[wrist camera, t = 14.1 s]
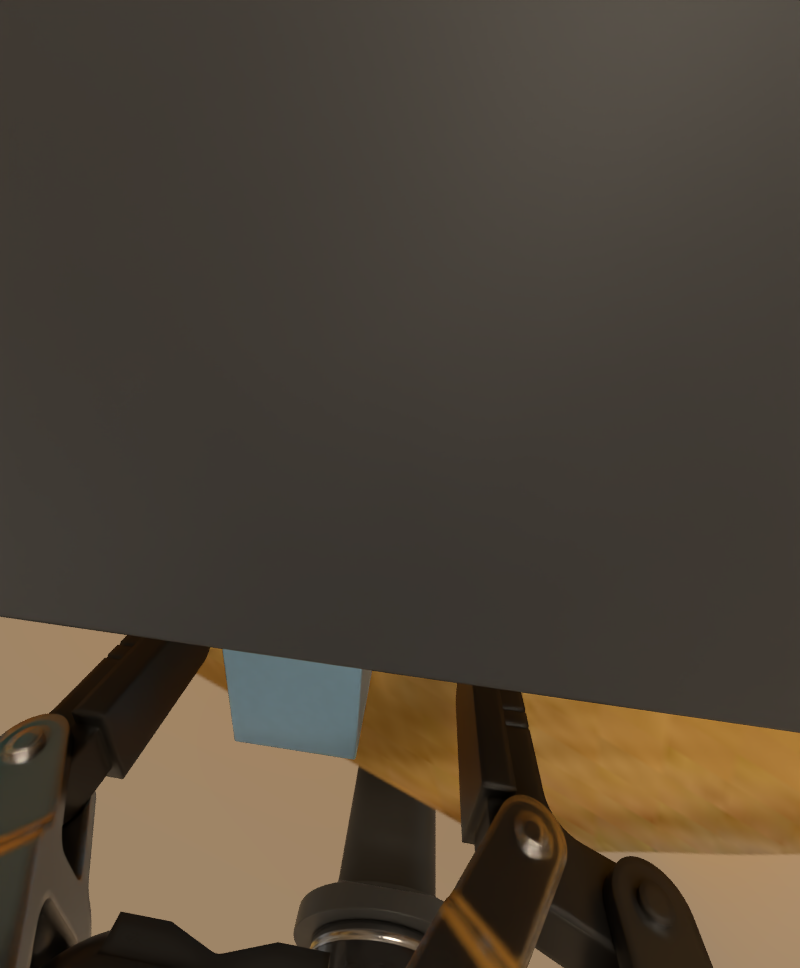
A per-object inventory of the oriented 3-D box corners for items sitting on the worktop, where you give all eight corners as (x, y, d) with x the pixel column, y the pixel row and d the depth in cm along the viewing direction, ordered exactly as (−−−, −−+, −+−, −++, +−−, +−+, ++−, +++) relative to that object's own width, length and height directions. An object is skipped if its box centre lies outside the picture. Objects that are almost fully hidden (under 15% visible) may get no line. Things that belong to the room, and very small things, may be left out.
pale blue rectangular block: (375, 649, 14) (355, 760, 11) (284, 636, 14) (233, 741, 11) (384, 554, 13) (363, 648, 9) (281, 540, 13) (218, 627, 9)
